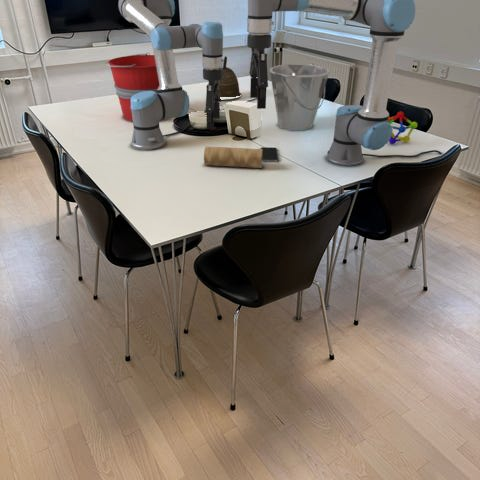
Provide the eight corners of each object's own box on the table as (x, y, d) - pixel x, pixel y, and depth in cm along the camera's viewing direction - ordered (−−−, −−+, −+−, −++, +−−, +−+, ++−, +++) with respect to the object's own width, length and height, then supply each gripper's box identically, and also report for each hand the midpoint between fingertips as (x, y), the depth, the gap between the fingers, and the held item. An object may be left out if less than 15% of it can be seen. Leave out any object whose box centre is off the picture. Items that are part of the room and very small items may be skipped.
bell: (227, 105, 294) (202, 96, 282) (238, 66, 289) (213, 55, 277) (243, 108, 280) (217, 98, 268) (255, 66, 275) (229, 55, 263)
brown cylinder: (204, 168, 184) (203, 150, 180) (207, 161, 190) (207, 143, 186) (260, 171, 181) (261, 153, 177) (262, 163, 188) (263, 146, 184)
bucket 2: (296, 138, 215) (301, 78, 201) (255, 124, 234) (256, 68, 219) (335, 125, 232) (342, 70, 217) (294, 113, 251) (297, 61, 236)
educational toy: (377, 146, 209) (379, 114, 202) (384, 138, 219) (386, 107, 211) (411, 149, 202) (415, 116, 195) (417, 141, 212) (420, 109, 204)
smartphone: (261, 159, 190) (260, 147, 203) (261, 161, 190) (260, 148, 203) (278, 159, 190) (276, 147, 202) (278, 161, 190) (276, 148, 203)
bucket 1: (122, 106, 262) (115, 52, 246) (181, 107, 261) (178, 52, 245) (105, 124, 232) (96, 64, 216) (172, 125, 231) (167, 64, 216)
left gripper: (217, 76, 155) (217, 134, 167) (227, 61, 176) (227, 114, 188) (196, 75, 156) (197, 133, 168) (208, 60, 177) (209, 113, 188)
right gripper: (280, 39, 127) (276, 112, 139) (263, 28, 148) (261, 93, 159) (254, 39, 126) (252, 113, 138) (241, 28, 147) (241, 93, 159)
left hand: (213, 123), depth 178 cm, fingers open, 13 cm apart
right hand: (257, 102), depth 149 cm, fingers open, 13 cm apart
